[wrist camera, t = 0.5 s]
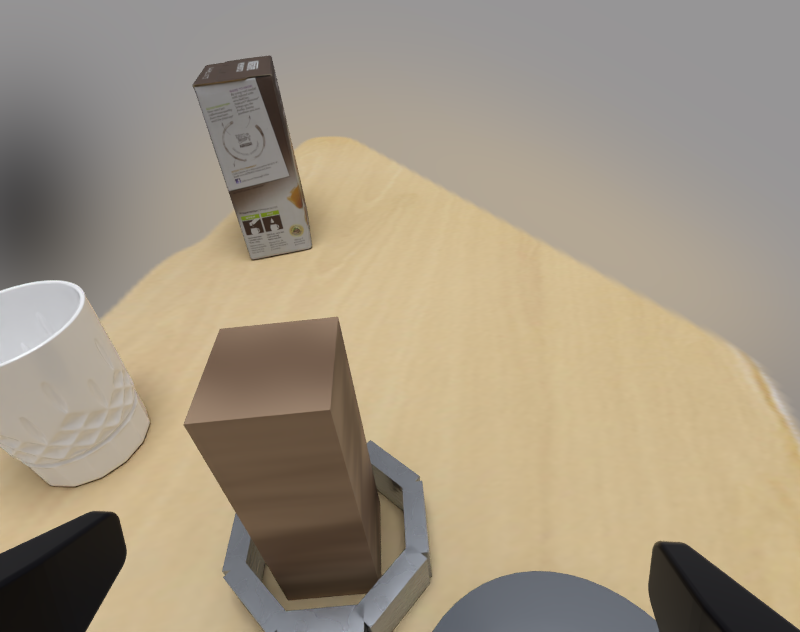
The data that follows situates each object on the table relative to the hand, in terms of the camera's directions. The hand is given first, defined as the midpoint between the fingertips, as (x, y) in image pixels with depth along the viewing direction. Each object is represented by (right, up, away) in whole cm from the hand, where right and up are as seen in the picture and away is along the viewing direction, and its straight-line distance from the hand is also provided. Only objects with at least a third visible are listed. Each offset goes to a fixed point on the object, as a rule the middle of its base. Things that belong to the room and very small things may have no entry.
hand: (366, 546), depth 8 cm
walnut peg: (-3, -8, +16) cm, 18 cm away
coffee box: (-12, +12, +43) cm, 46 cm away
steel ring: (-3, -8, +16) cm, 18 cm away
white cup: (-19, -4, +23) cm, 30 cm away
